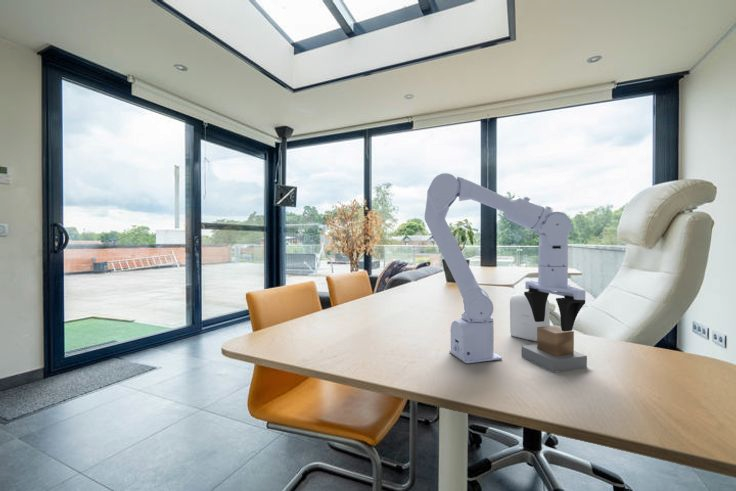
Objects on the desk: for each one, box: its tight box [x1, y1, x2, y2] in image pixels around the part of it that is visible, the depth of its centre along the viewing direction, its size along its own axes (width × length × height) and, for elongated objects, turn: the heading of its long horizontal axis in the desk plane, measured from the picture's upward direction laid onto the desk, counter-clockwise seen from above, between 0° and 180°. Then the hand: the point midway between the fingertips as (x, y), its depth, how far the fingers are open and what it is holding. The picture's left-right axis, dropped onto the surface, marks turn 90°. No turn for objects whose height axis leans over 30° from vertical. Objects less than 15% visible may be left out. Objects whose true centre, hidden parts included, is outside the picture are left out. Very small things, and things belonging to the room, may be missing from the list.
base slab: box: [520, 343, 588, 373], centre depth 71 cm, size 9×9×3 cm
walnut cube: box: [536, 325, 575, 356], centre depth 71 cm, size 5×5×5 cm
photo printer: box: [509, 293, 551, 342], centre depth 87 cm, size 10×4×12 cm, turn 39°
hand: (552, 325), depth 71 cm, fingers open, 7 cm apart
